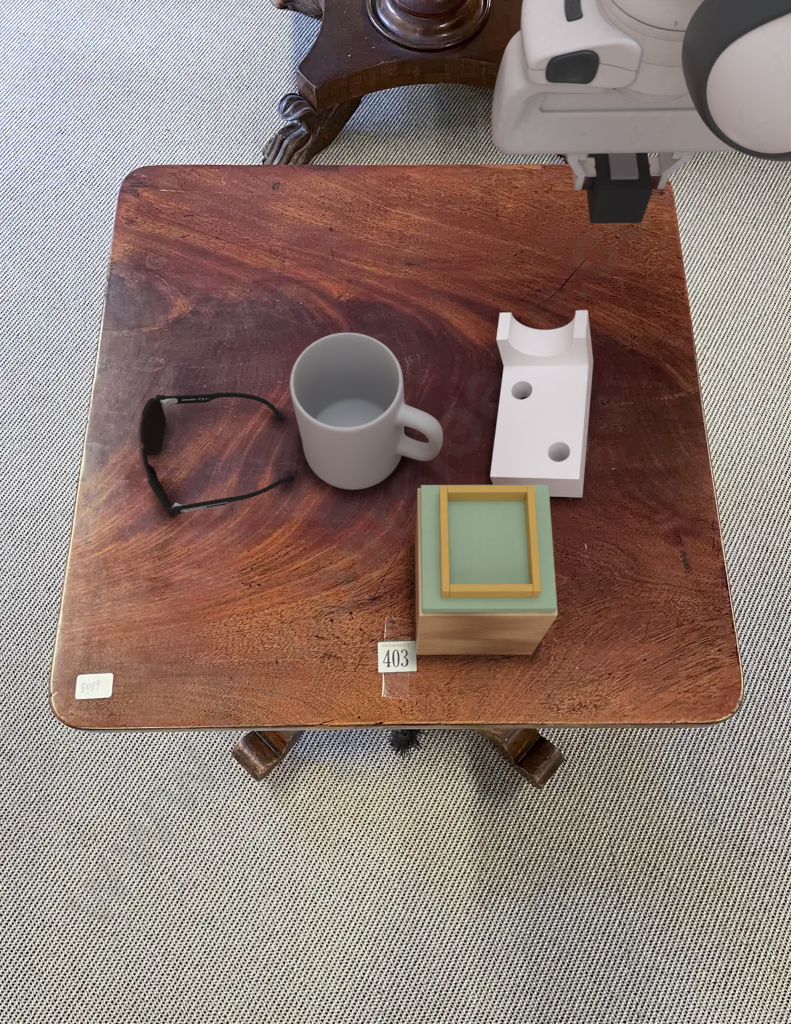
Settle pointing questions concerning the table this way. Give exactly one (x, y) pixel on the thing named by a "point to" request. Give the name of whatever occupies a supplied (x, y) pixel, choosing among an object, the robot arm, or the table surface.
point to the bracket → (543, 405)
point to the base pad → (487, 549)
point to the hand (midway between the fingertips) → (616, 183)
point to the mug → (356, 411)
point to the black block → (620, 188)
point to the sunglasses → (153, 439)
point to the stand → (474, 623)
